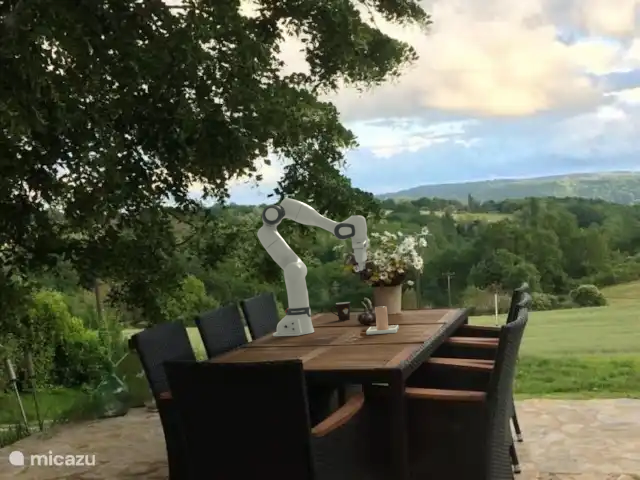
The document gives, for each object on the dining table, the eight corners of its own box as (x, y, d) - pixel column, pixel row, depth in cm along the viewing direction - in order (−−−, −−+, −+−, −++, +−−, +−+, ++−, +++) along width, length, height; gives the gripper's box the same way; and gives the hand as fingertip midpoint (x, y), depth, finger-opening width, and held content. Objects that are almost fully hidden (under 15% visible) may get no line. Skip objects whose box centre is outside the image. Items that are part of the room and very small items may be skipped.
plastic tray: (366, 334, 395) (366, 331, 395) (370, 330, 410) (369, 326, 410) (396, 332, 393) (395, 329, 393) (398, 328, 407) (398, 325, 407)
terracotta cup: (376, 331, 399) (374, 308, 399) (377, 329, 405) (375, 306, 405) (388, 330, 398) (386, 307, 398) (389, 329, 404) (387, 305, 404)
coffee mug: (352, 318, 469) (350, 301, 469) (351, 320, 460) (349, 303, 460) (332, 319, 470) (331, 303, 470) (331, 321, 461) (330, 304, 461)
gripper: (357, 244, 437) (359, 268, 437) (351, 245, 417) (354, 271, 417) (368, 243, 436) (370, 267, 436) (363, 244, 416) (365, 270, 416)
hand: (362, 269), depth 426 cm, fingers open, 8 cm apart
